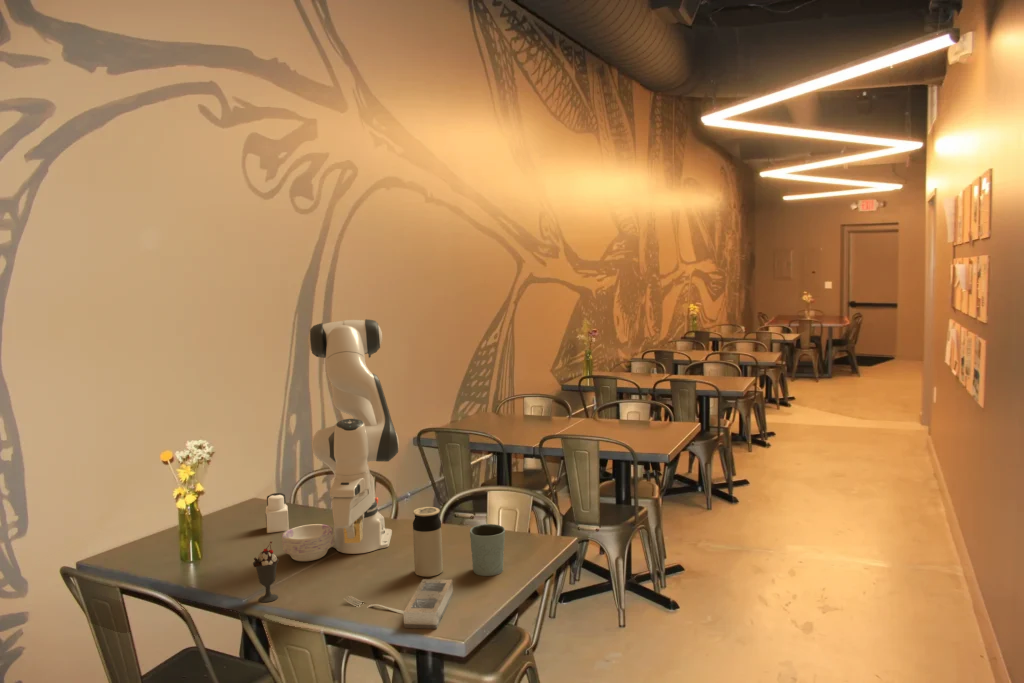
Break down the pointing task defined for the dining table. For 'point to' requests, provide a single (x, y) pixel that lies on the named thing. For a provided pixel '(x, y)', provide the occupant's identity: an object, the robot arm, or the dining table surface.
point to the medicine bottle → (276, 513)
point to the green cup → (487, 549)
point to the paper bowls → (308, 541)
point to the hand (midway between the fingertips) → (355, 533)
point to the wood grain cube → (358, 533)
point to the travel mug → (427, 542)
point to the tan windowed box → (428, 604)
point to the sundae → (266, 572)
